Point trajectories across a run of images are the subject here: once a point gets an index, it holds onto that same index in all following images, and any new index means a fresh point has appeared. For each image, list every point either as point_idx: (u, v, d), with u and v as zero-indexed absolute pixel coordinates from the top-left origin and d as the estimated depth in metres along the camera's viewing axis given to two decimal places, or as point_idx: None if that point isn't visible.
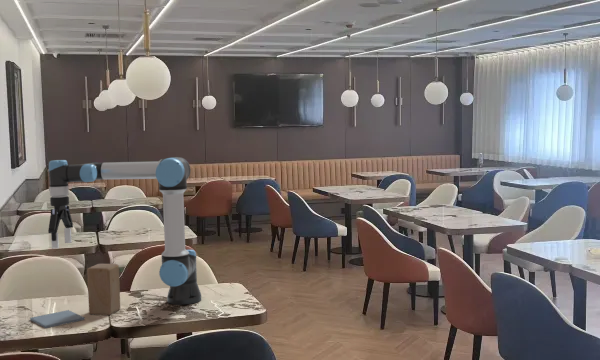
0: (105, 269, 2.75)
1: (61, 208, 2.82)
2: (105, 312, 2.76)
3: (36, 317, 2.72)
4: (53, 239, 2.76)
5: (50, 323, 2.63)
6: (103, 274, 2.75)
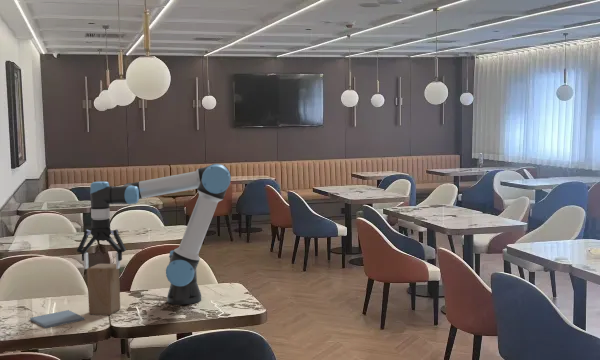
0: (105, 269, 2.75)
1: (97, 230, 2.78)
2: (105, 312, 2.76)
3: (36, 317, 2.72)
4: None
5: (50, 323, 2.63)
6: (103, 274, 2.75)
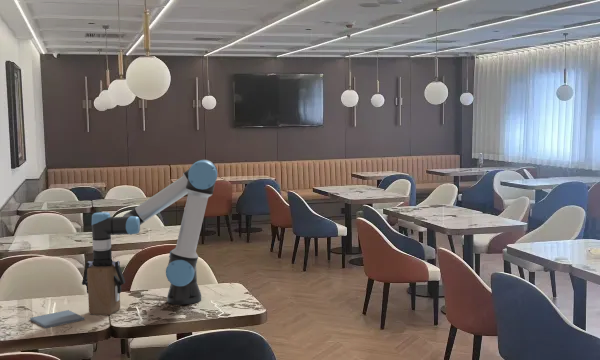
0: (105, 269, 2.75)
1: (98, 261, 2.79)
2: (105, 312, 2.76)
3: (36, 317, 2.72)
4: None
5: (50, 323, 2.63)
6: (103, 274, 2.75)
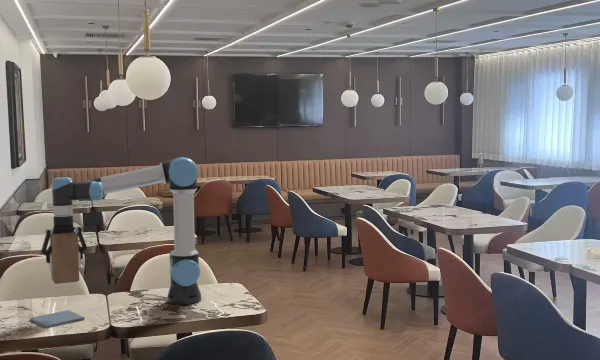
0: (74, 234, 2.68)
1: (61, 227, 2.69)
2: (74, 279, 2.69)
3: (36, 317, 2.72)
4: (46, 261, 2.68)
5: (50, 323, 2.63)
6: (72, 240, 2.68)
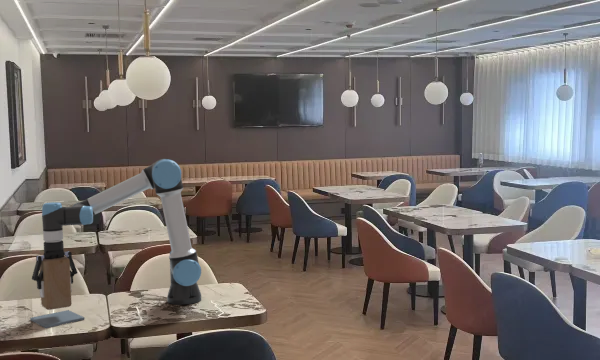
0: (66, 259, 2.67)
1: (51, 253, 2.67)
2: (66, 304, 2.68)
3: (36, 317, 2.72)
4: (38, 287, 2.65)
5: (50, 323, 2.63)
6: (64, 265, 2.67)
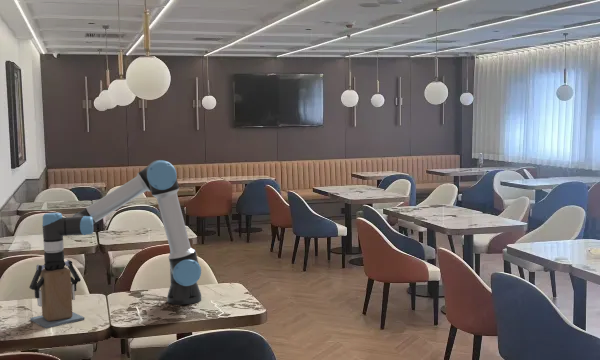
0: (67, 271, 2.68)
1: (52, 264, 2.68)
2: (67, 315, 2.69)
3: (36, 317, 2.72)
4: (35, 296, 2.65)
5: (50, 323, 2.63)
6: (65, 276, 2.67)
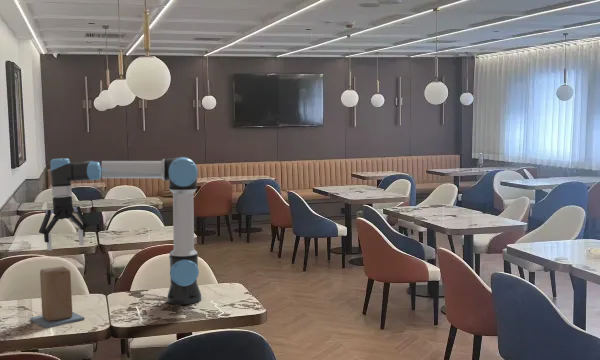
0: (67, 271, 2.68)
1: (61, 209, 2.70)
2: (67, 315, 2.69)
3: (36, 317, 2.72)
4: (45, 240, 2.67)
5: (50, 323, 2.63)
6: (65, 276, 2.67)
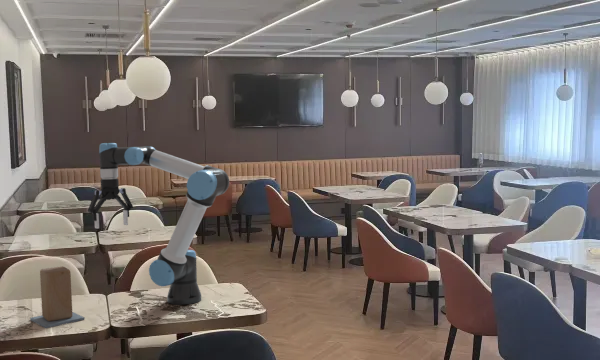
0: (67, 271, 2.68)
1: (108, 190, 2.89)
2: (67, 315, 2.69)
3: (36, 317, 2.72)
4: (93, 219, 2.86)
5: (50, 323, 2.63)
6: (65, 276, 2.67)
